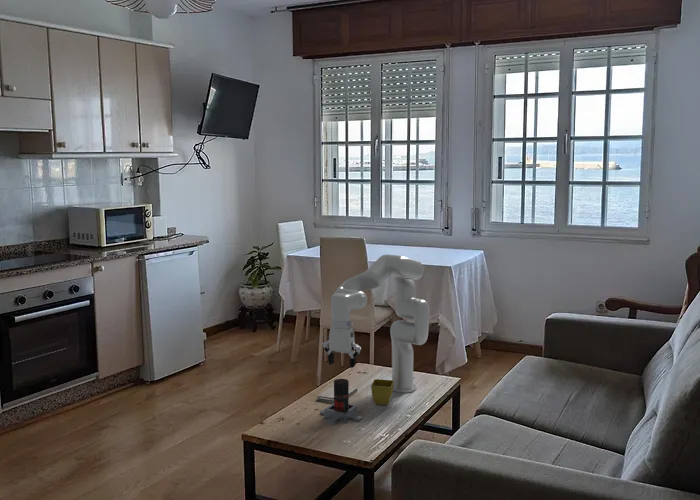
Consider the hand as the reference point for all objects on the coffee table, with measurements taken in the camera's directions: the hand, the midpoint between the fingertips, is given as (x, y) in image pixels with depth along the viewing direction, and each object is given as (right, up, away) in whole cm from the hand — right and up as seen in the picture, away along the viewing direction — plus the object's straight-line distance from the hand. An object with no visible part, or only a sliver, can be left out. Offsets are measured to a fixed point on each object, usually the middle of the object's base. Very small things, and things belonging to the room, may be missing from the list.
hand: (341, 365), depth 268 cm
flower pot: (+17, -20, +18) cm, 32 cm away
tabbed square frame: (0, -21, +2) cm, 21 cm away
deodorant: (0, -22, +3) cm, 22 cm away
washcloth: (-2, -19, +26) cm, 32 cm away
